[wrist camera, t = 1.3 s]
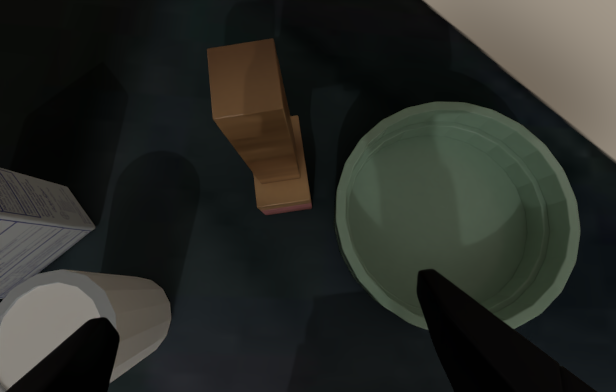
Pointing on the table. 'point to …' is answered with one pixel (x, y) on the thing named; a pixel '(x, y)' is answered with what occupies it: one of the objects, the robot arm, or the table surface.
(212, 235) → the table surface
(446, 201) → the bowl
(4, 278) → the medicine box
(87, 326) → the robot arm
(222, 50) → the brown stepped block
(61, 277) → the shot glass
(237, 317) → the table surface
